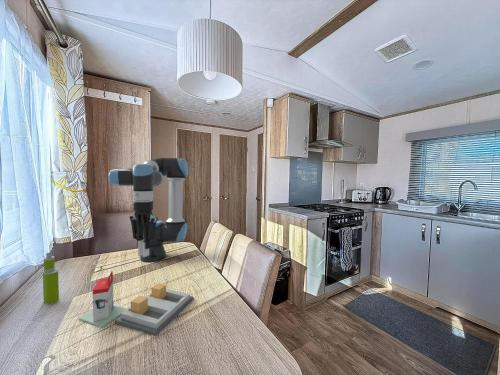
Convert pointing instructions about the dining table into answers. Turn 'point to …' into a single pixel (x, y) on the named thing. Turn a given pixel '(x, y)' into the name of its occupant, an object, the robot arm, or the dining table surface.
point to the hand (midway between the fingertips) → (143, 255)
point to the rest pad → (114, 314)
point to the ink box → (103, 298)
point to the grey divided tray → (156, 313)
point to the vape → (50, 280)
